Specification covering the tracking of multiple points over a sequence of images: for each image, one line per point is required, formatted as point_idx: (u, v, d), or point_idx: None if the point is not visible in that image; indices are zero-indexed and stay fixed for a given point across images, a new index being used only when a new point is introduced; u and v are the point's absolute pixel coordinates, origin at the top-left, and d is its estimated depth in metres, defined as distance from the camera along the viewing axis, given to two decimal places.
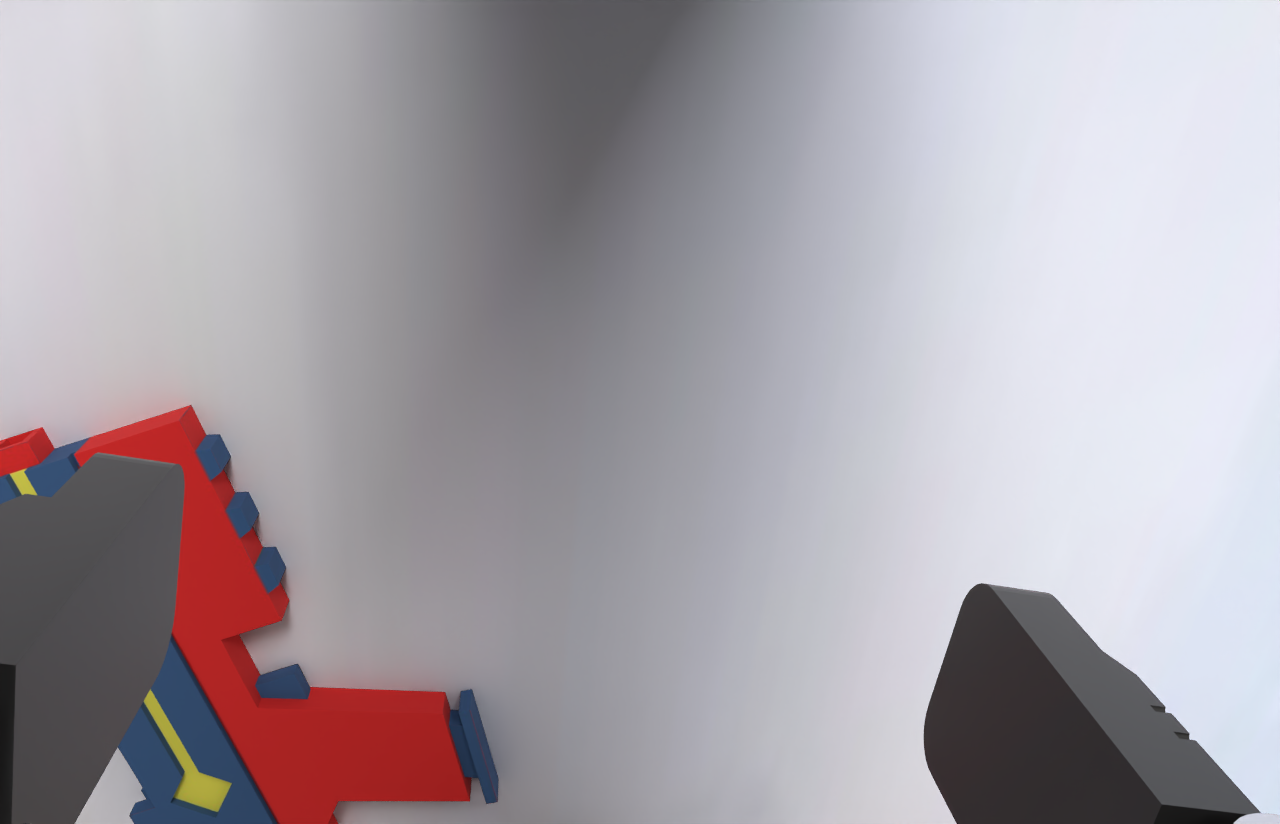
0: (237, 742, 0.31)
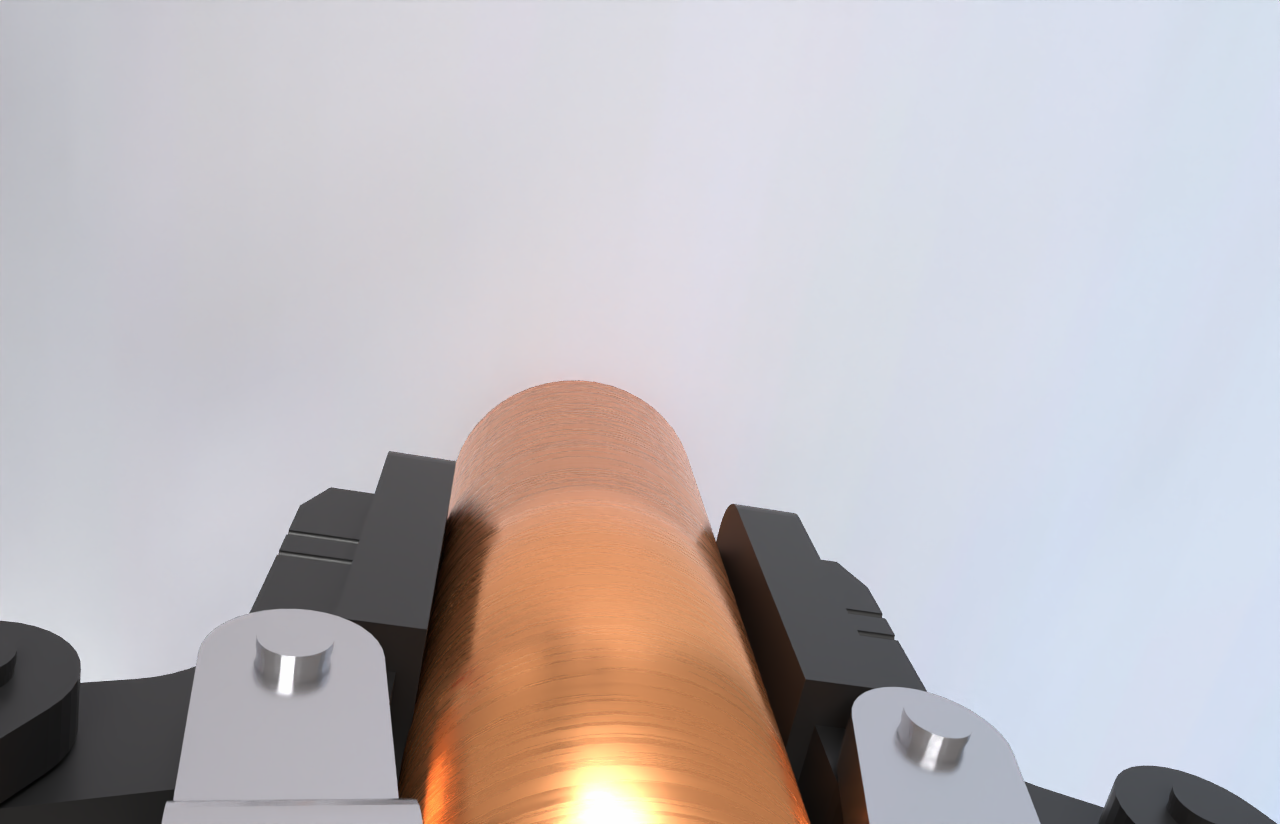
0: None
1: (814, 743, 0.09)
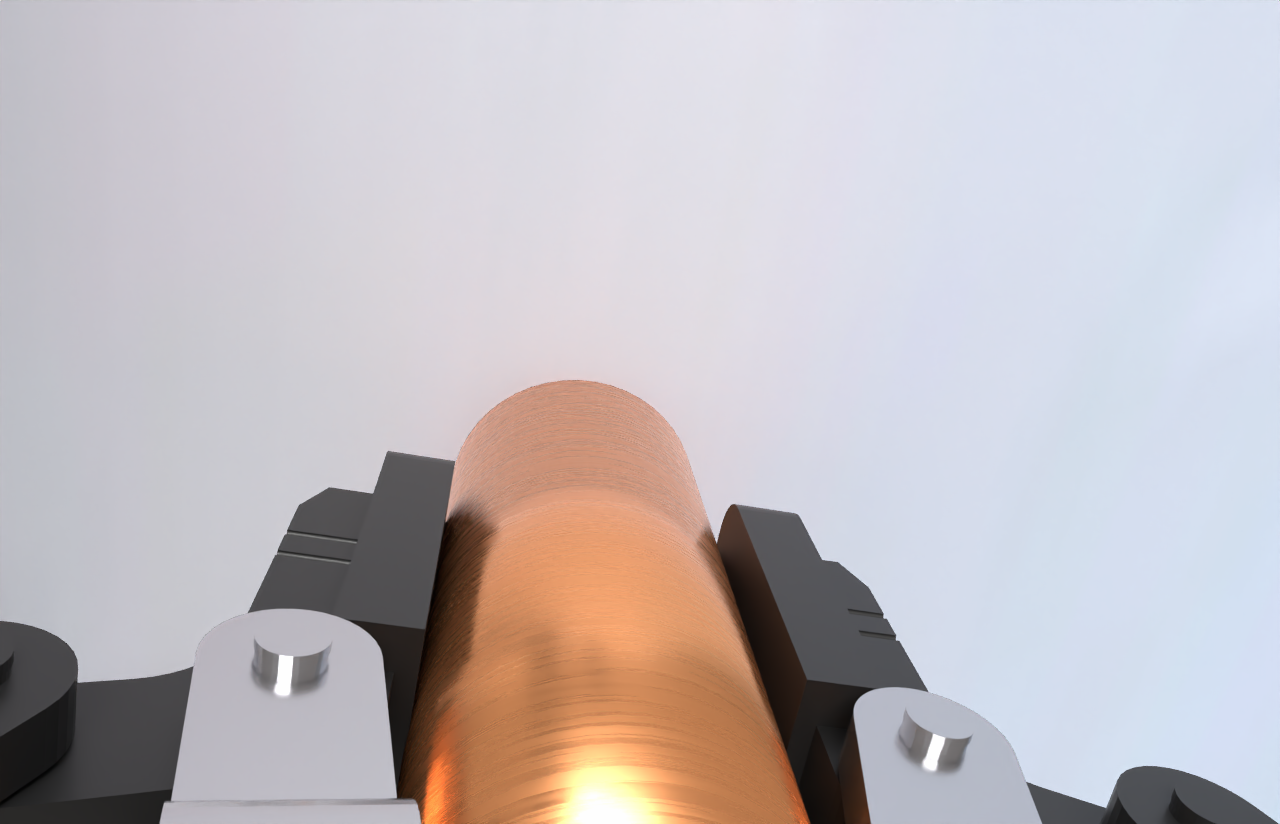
0: None
1: (817, 743, 0.09)
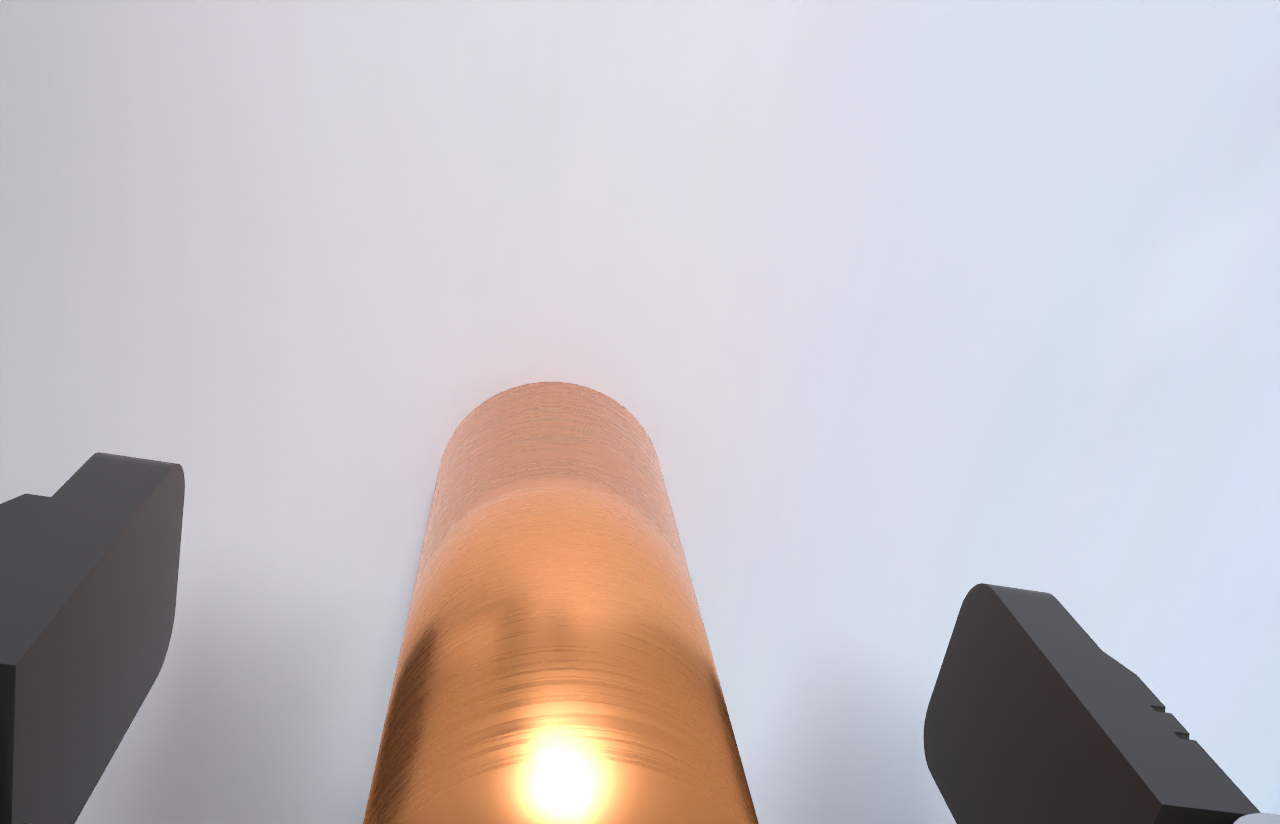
0: None
1: None
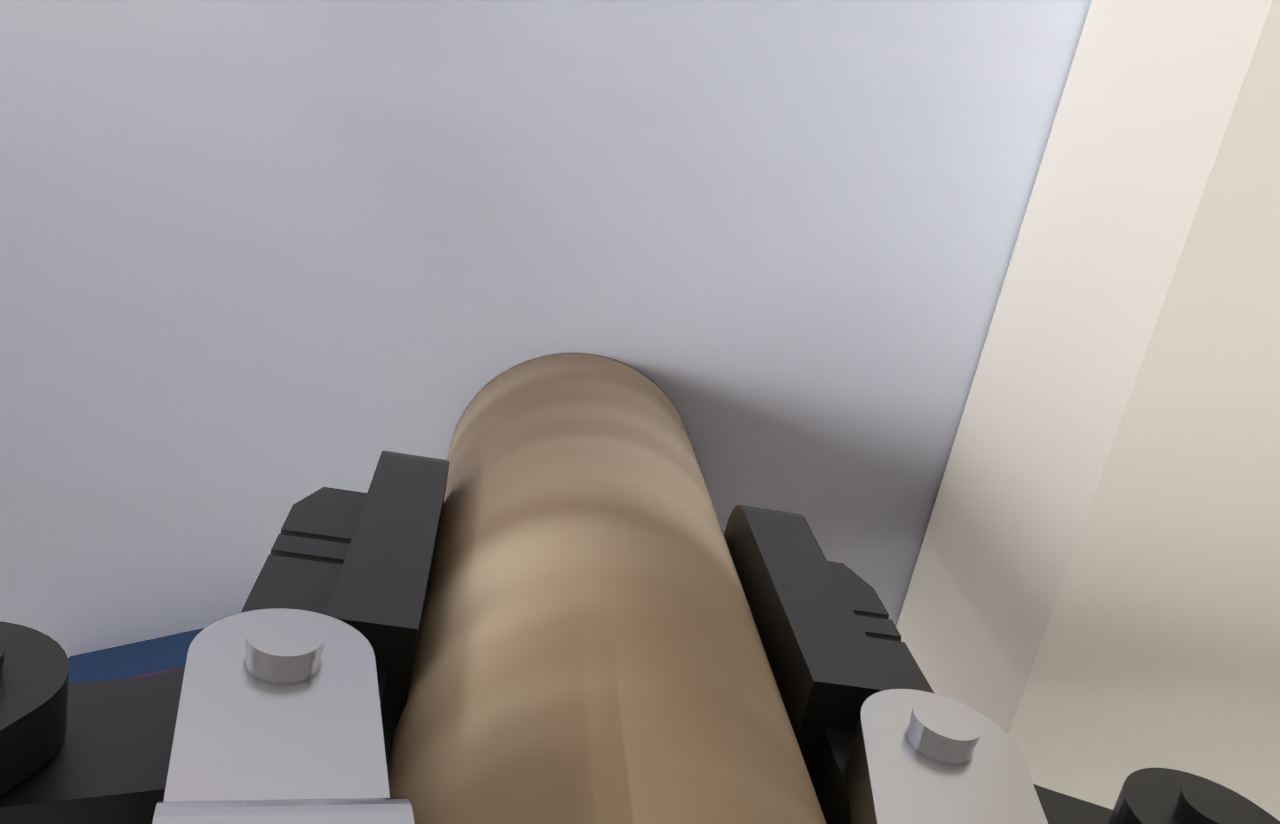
0: None
1: (822, 744, 0.09)
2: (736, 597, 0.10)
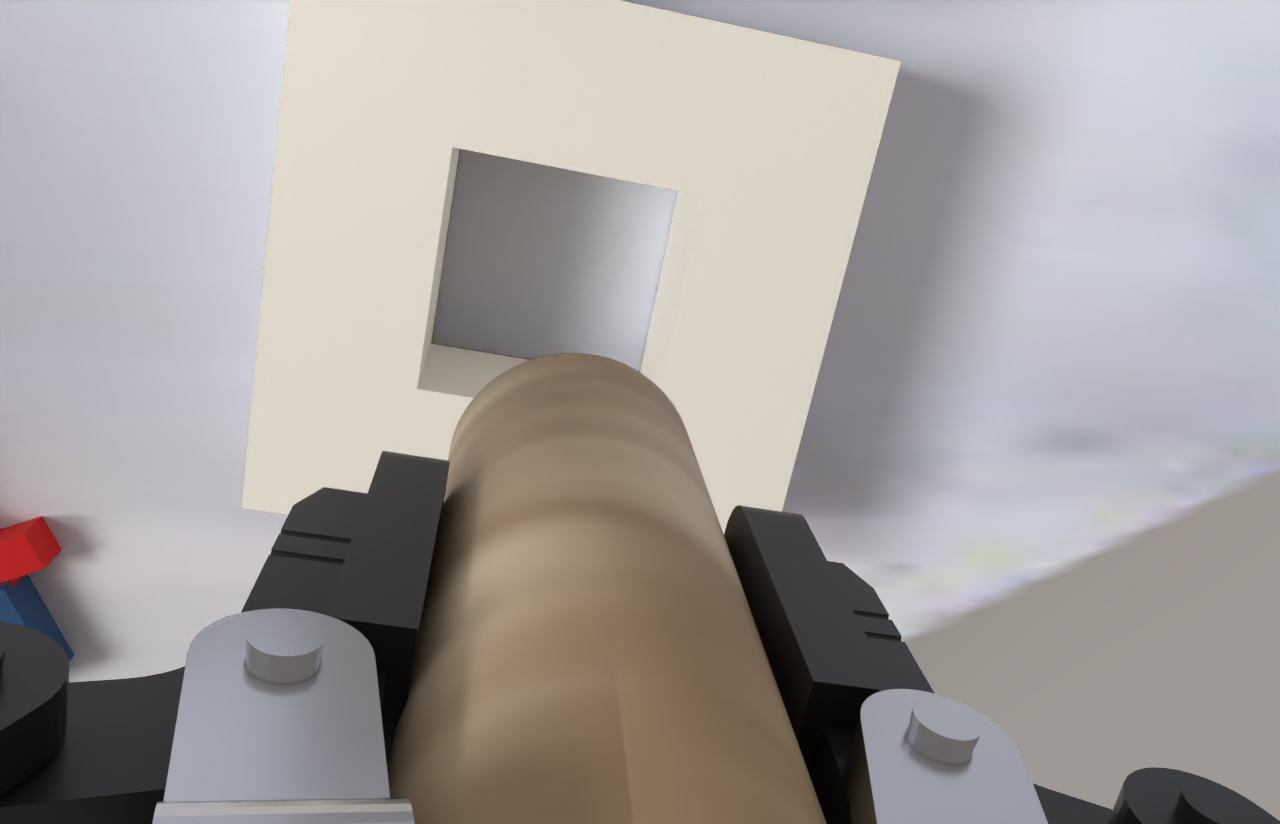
0: None
1: (822, 744, 0.09)
2: (736, 597, 0.10)
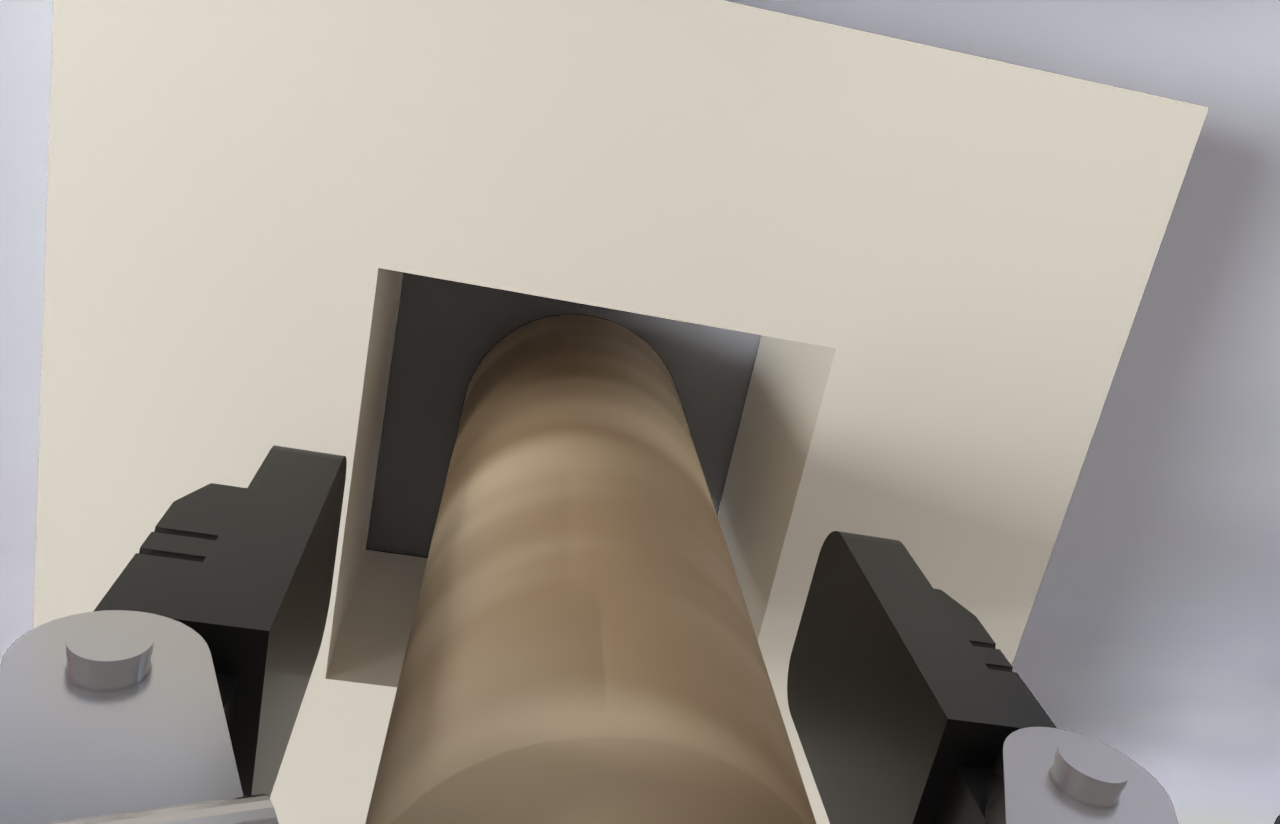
0: None
1: (954, 782, 0.09)
2: (703, 503, 0.12)
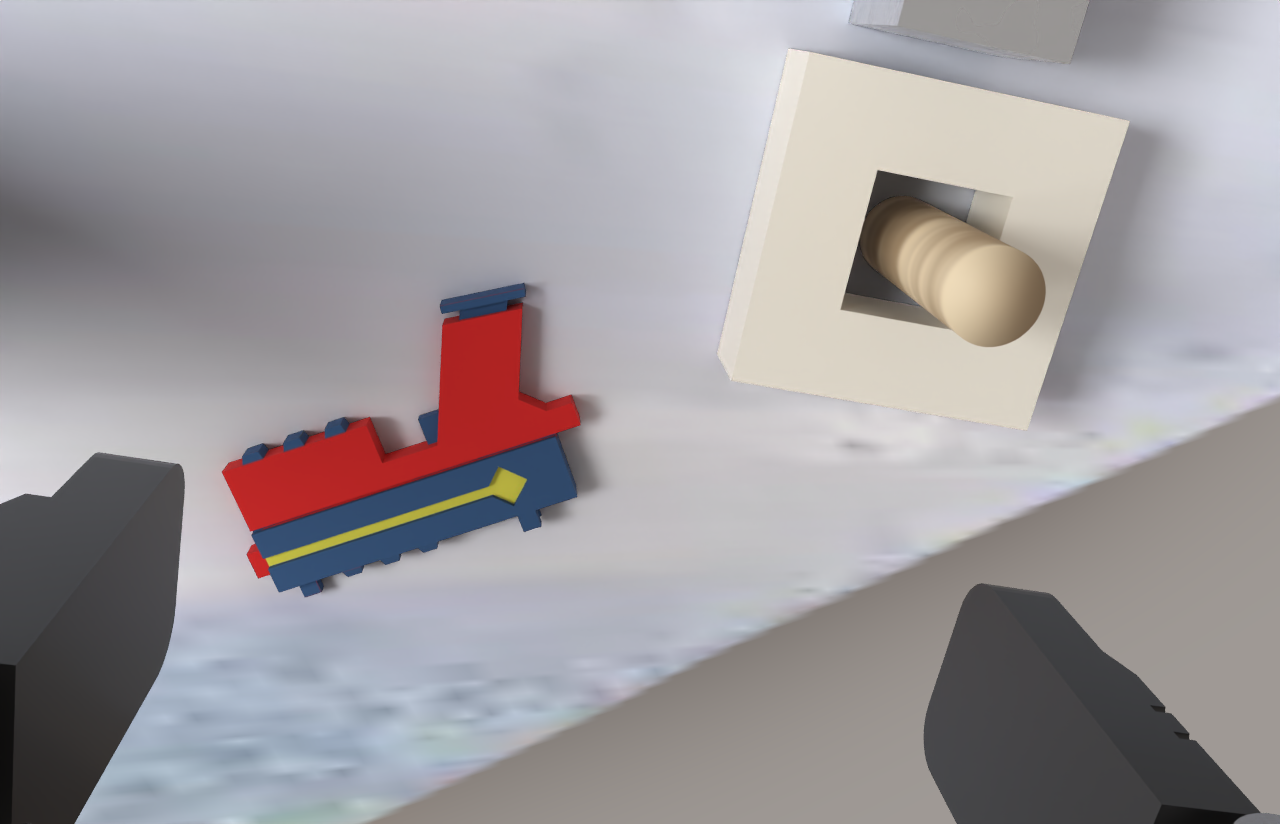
0: (465, 460, 0.45)
1: None
2: None
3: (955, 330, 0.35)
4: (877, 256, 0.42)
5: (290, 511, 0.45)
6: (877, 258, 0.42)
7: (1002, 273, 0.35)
